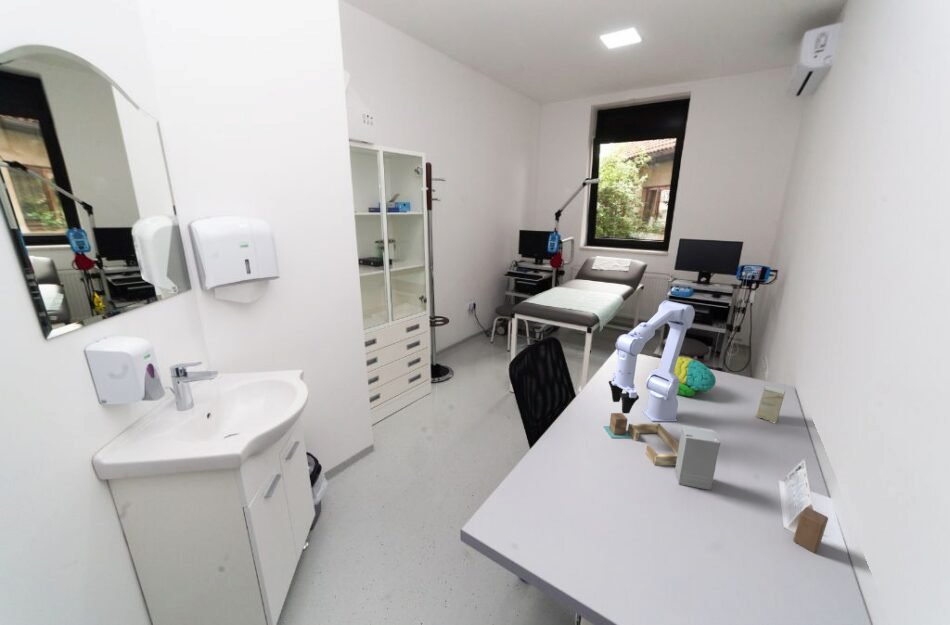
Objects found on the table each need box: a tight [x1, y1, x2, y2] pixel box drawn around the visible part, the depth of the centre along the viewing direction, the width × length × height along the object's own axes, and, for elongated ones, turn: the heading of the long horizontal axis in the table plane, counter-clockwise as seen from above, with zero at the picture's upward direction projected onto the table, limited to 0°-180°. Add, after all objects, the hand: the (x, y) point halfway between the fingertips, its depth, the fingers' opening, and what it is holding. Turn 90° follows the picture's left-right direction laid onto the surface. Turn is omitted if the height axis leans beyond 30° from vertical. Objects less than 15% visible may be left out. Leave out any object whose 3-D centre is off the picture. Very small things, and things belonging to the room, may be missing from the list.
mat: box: [603, 425, 633, 439], centre depth 127 cm, size 7×7×1 cm
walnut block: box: [608, 412, 628, 435], centre depth 126 cm, size 4×4×6 cm
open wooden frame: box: [627, 423, 679, 466], centre depth 119 cm, size 11×18×3 cm, turn 3°
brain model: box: [655, 356, 717, 397], centre depth 159 cm, size 24×19×15 cm
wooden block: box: [793, 506, 829, 554], centre depth 84 cm, size 4×4×8 cm
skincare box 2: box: [756, 385, 786, 424], centre depth 137 cm, size 6×4×12 cm
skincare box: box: [674, 424, 721, 491], centre depth 102 cm, size 8×7×16 cm
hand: (620, 407), depth 125 cm, fingers open, 7 cm apart
